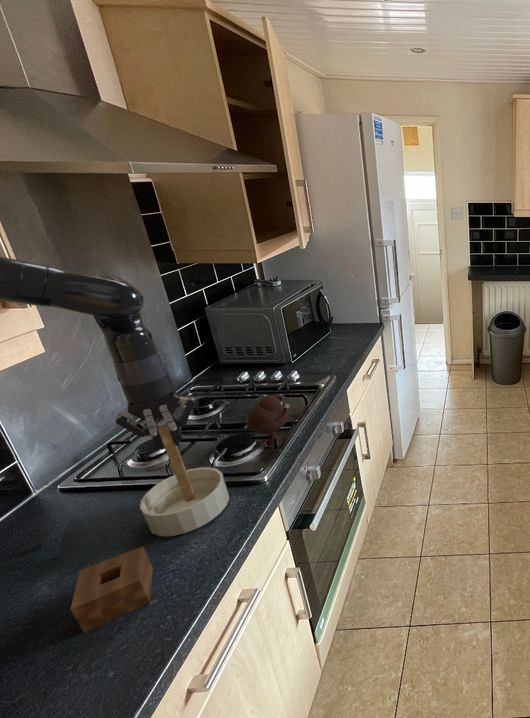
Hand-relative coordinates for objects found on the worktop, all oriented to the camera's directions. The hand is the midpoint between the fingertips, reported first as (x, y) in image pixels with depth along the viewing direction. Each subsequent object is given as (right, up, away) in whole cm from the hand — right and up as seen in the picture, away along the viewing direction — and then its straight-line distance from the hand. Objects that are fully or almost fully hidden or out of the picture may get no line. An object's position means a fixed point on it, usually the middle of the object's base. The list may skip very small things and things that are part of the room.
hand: (170, 445), depth 91 cm
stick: (0, -14, +6) cm, 15 cm away
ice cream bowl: (+5, -8, +31) cm, 32 cm away
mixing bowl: (0, -17, +7) cm, 19 cm away
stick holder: (+1, -25, -13) cm, 28 cm away
